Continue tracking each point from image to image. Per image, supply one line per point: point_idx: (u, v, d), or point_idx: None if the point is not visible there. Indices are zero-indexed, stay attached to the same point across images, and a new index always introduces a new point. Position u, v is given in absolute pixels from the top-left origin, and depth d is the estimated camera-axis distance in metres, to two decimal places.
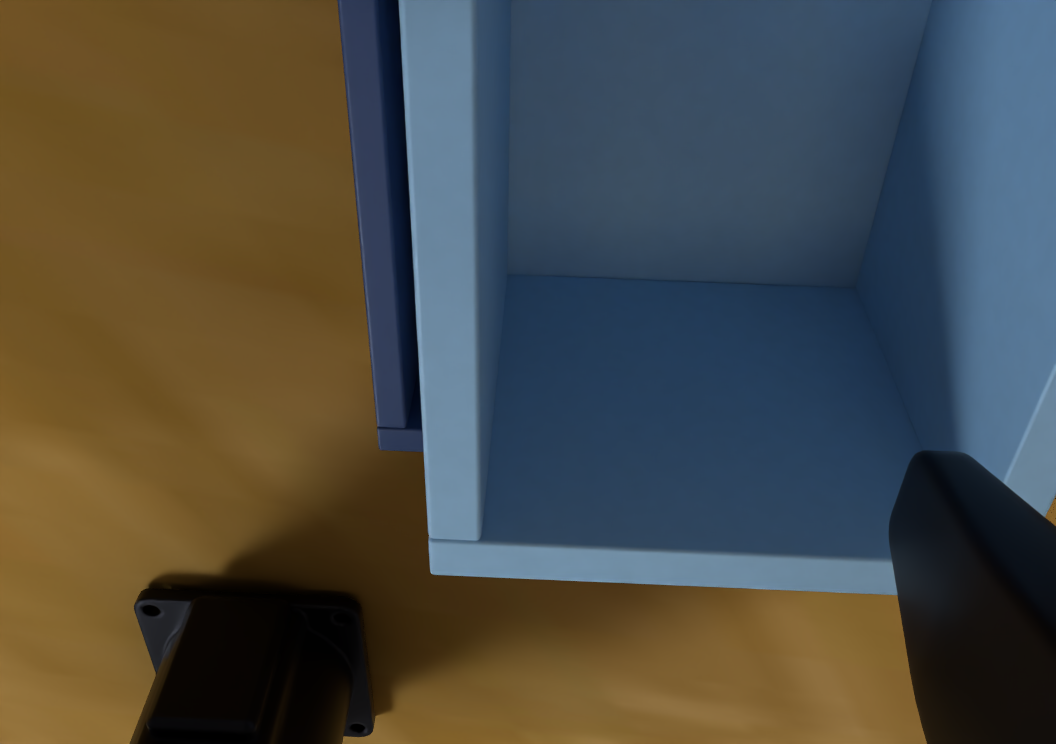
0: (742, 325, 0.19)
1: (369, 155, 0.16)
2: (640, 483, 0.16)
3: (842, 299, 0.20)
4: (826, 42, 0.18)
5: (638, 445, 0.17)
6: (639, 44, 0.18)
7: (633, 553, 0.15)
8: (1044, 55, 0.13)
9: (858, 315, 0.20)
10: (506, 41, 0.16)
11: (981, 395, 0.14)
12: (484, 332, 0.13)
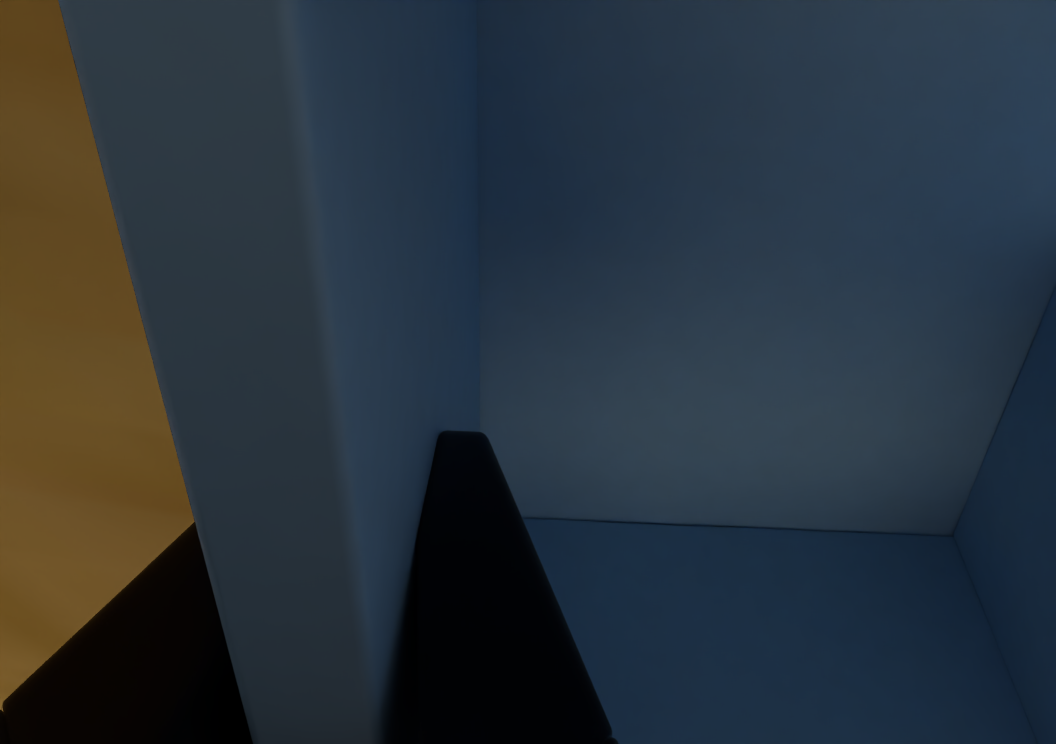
0: (804, 609, 0.14)
1: None
2: None
3: (937, 558, 0.15)
4: (934, 244, 0.12)
5: None
6: (664, 244, 0.12)
7: None
8: None
9: (961, 587, 0.14)
10: (468, 267, 0.11)
11: None
12: None
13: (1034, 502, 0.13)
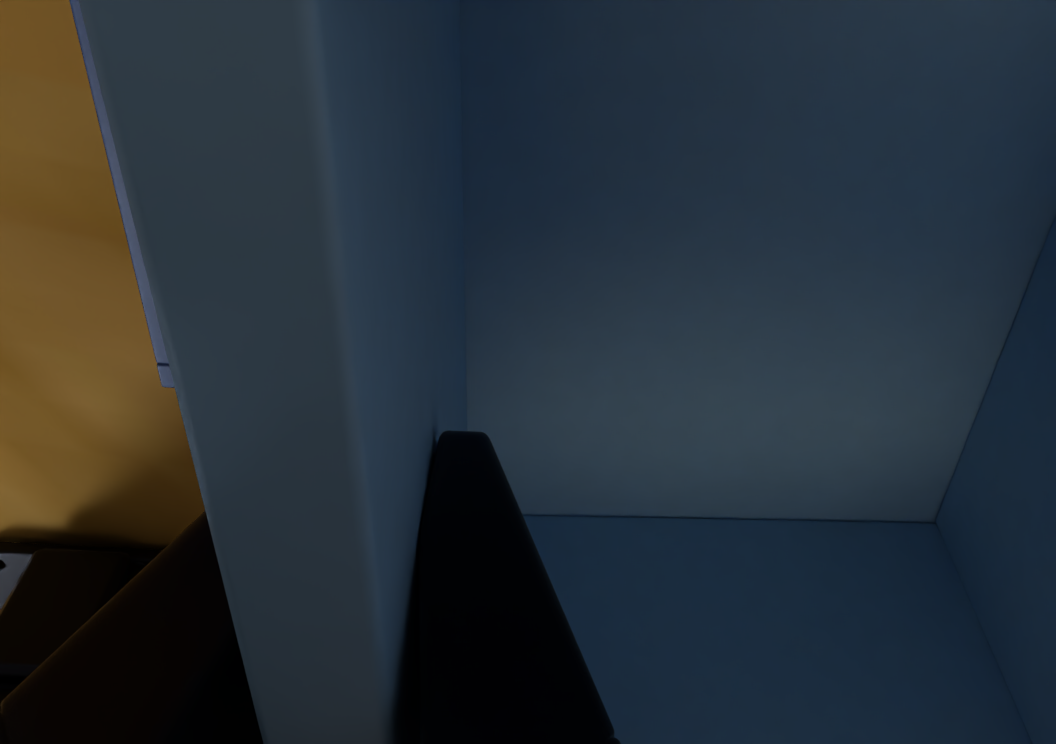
0: (792, 598, 0.14)
1: None
2: None
3: (920, 544, 0.15)
4: (914, 234, 0.12)
5: None
6: (648, 239, 0.12)
7: None
8: None
9: (945, 572, 0.15)
10: (456, 264, 0.11)
11: None
12: None
13: (1015, 487, 0.13)
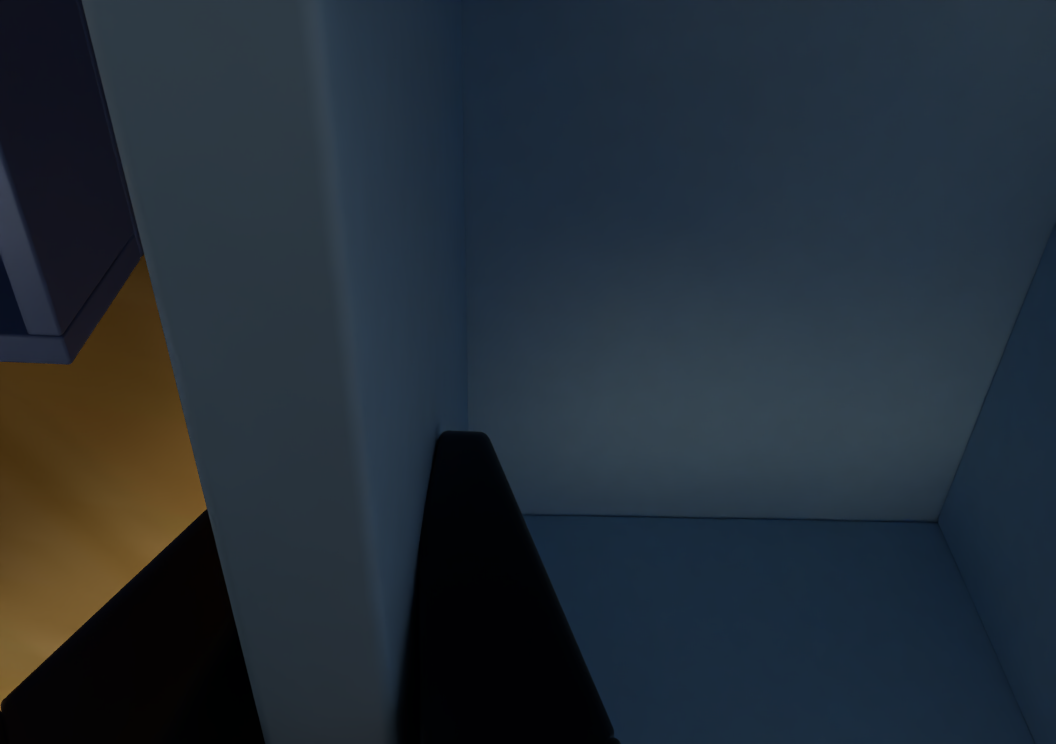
0: (793, 598, 0.14)
1: None
2: None
3: (922, 544, 0.15)
4: (917, 233, 0.12)
5: None
6: (650, 238, 0.12)
7: None
8: None
9: (948, 572, 0.15)
10: (457, 263, 0.11)
11: None
12: None
13: (1018, 486, 0.13)
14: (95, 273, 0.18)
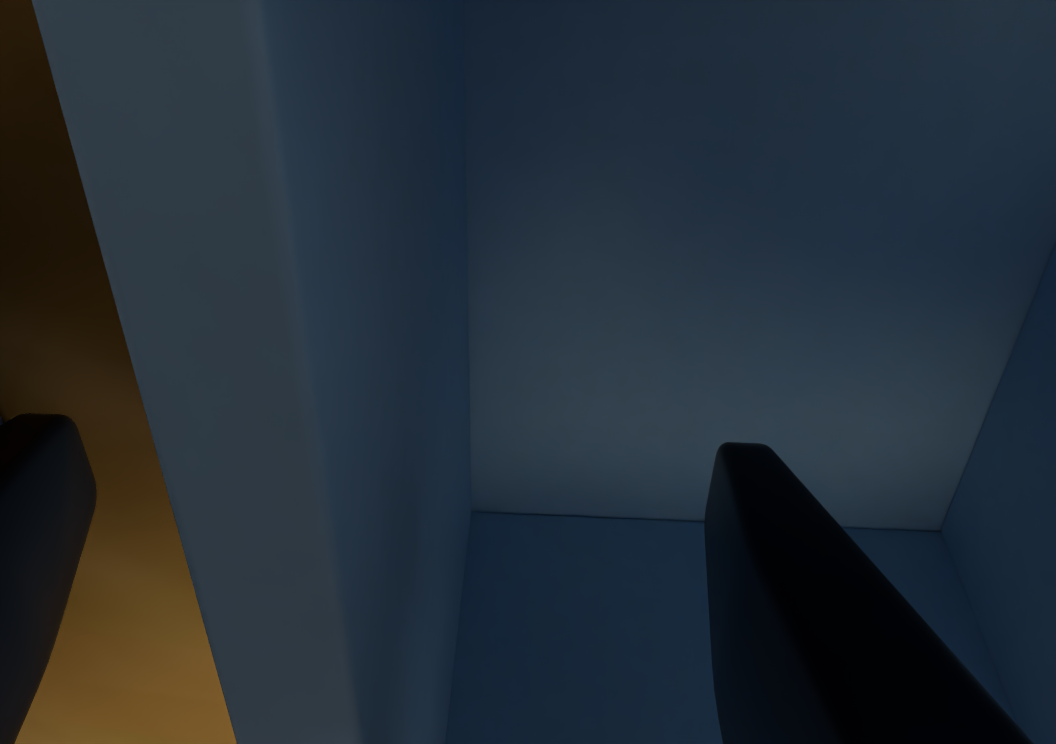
0: None
1: None
2: None
3: (924, 553, 0.15)
4: (919, 240, 0.12)
5: None
6: (651, 240, 0.12)
7: None
8: None
9: (949, 582, 0.14)
10: (455, 262, 0.11)
11: None
12: None
13: (1019, 496, 0.13)
14: None
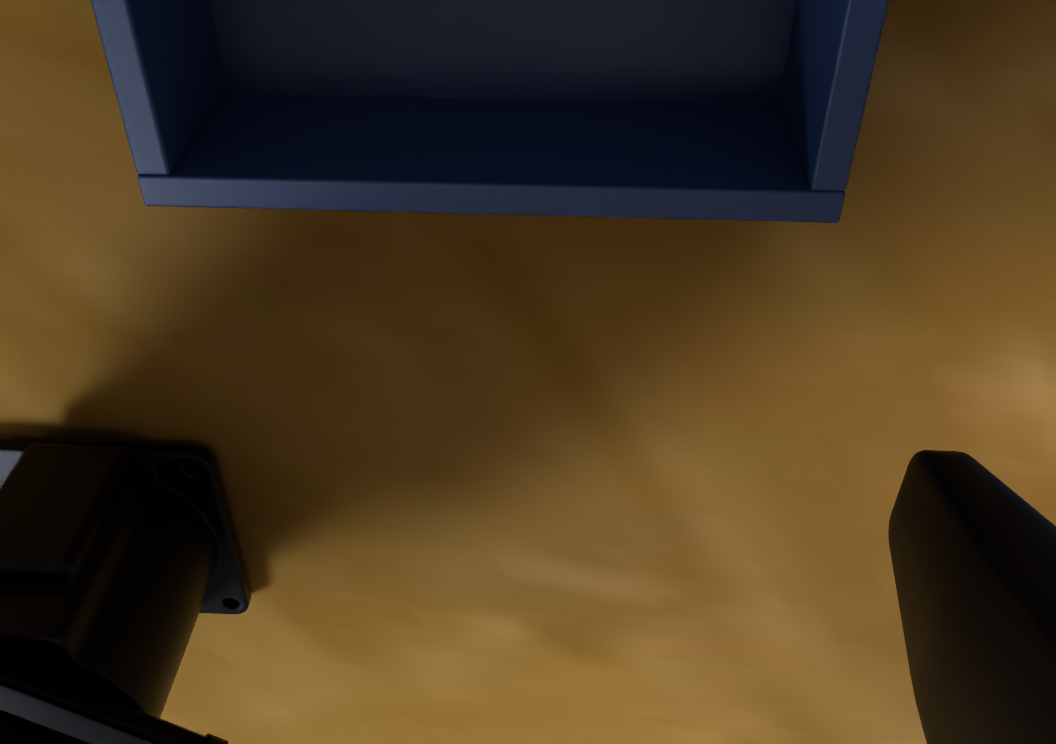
0: None
1: None
2: None
3: None
4: None
5: None
6: None
7: None
8: None
9: None
10: None
11: None
12: None
13: None
14: None
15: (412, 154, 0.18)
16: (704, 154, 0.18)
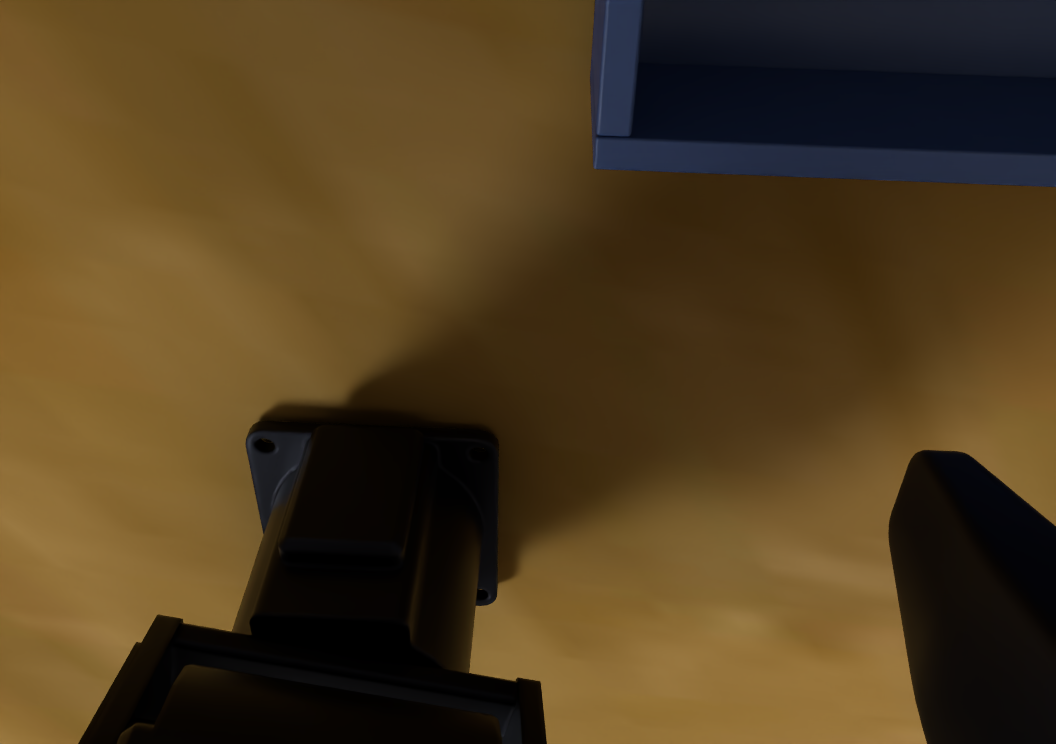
0: None
1: None
2: None
3: None
4: None
5: None
6: None
7: None
8: None
9: None
10: None
11: None
12: None
13: None
14: None
15: (859, 121, 0.17)
16: None
